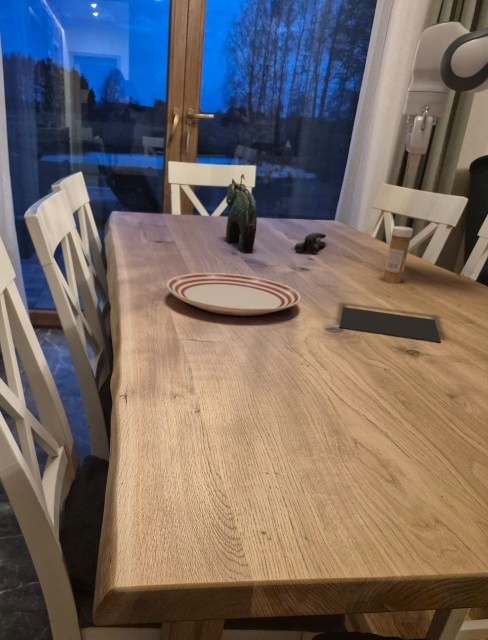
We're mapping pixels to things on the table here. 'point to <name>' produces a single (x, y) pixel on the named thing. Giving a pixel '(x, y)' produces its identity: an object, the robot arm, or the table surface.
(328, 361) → the table surface
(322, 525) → the table surface
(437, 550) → the table surface
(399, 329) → the rubber mat
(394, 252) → the sprinkles bottle
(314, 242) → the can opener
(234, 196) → the green horse figurine
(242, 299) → the dinner plate
